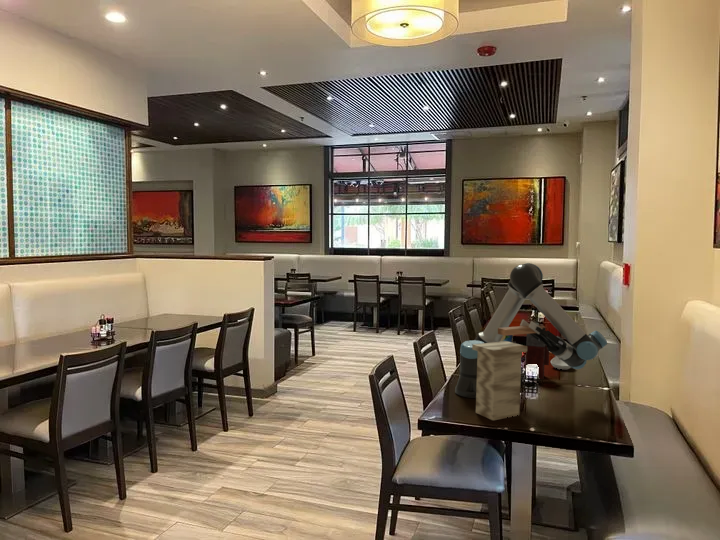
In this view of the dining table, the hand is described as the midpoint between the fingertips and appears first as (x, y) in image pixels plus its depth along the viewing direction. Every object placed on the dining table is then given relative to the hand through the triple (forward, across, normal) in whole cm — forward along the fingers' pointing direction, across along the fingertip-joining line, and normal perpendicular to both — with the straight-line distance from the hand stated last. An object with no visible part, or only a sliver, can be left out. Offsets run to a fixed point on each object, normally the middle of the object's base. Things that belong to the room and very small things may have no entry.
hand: (526, 323), depth 211 cm
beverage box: (-47, +49, -14) cm, 70 cm away
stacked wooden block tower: (-7, +1, -38) cm, 39 cm away
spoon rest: (-85, +46, +8) cm, 97 cm away
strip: (0, 0, -4) cm, 5 cm away
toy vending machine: (-58, +35, -8) cm, 68 cm away
